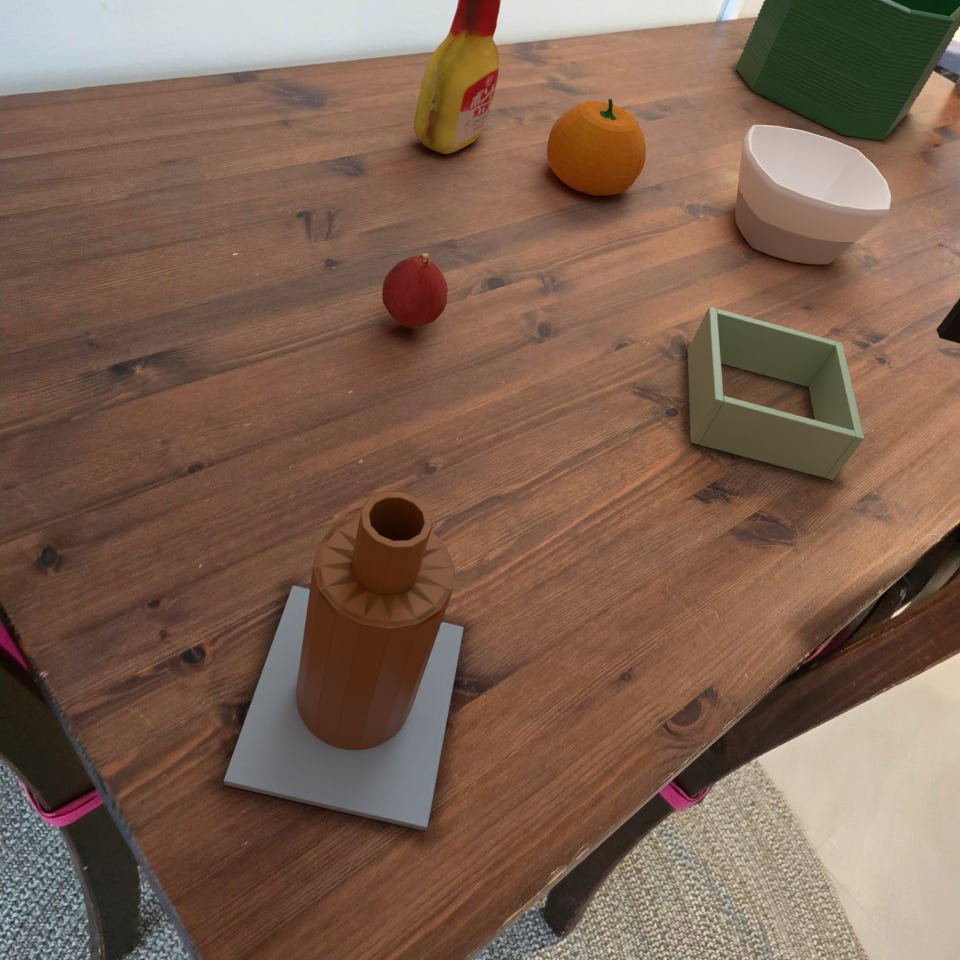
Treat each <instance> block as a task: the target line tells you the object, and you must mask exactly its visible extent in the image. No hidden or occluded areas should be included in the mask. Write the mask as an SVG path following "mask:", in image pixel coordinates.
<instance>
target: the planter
mask: <svg viewBox="0 0 960 960" xmlns="http://www.w3.org/2000/svg"><path fill="white" fill-rule="evenodd" d="M959 29H960V0H764V1H763V2H762V5H761V8H760V9H759V12H758V14H757V17H756V20H755V21H754V24H753V25H752V28H751V31H750V32H749V35H748V36H747V39H746V43H744V47H743V48H742V49H743V50H742V52H741V54H740V56H739V59H738V61H737V63H736V66H735V70H736V71H737V72H738V74H739V76H740V77H741V78H742V79H743V81H744V82H745V83H746V85H747V86H748V88H750V90H751V91H752V92H754V93H756V94H757V95H760V96H762V97H764V98H765V99H768V100H770V101H772V102H773V103H776V104H778V105H780V106H782V107H784V108H786V109H788V110H790V111H791V112H794V113H795V114H799V115H800V116H803V117H804V118H807V119H808V120H810V121H813V122H814V123H816V124H818V125H821V126H822V127H825V128H827V129H829V130H831V131H832V132H835V133H838V134H839V135H841V136H846V137H852V138H861V139H868V140H876V141H883V140H885V138H887V136H888V135H889V134H890V133H891V132H892V131H893V130H894V128H896V126H897V125H898V124H899V123H900V122H901V121H902V120H903V119H904V118H905V116H907V115H908V113H909V112H910V111H911V109H912V107H913V106H914V104H915V102H916V101H917V98H918V97H919V96H920V95H921V93H922V91H923V89H924V88H925V86H926V85H927V82H929V79H930V78H931V75H932V74H933V72H934V71H935V67H936V66H937V65H938V64H939V63H940V61H941V59H942V57H943V56H944V54H945V53H946V50H947V49H948V47H949V46H950V44H951V42H952V41H953V39H954V38H955V34H956V32H957V31H959Z"/></svg>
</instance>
